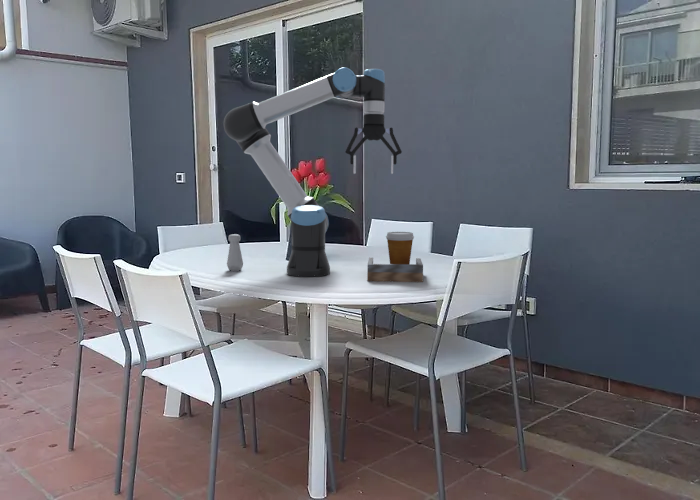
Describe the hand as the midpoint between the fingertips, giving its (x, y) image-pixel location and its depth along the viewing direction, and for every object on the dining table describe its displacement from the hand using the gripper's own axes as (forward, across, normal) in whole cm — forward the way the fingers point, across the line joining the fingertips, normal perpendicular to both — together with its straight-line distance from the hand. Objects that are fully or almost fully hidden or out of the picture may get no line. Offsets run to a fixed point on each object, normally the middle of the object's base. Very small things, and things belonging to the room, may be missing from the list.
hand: (373, 173), depth 218 cm
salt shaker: (+35, +49, +10) cm, 61 cm away
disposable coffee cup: (+32, -10, +18) cm, 38 cm away
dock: (+35, -8, +19) cm, 40 cm away
